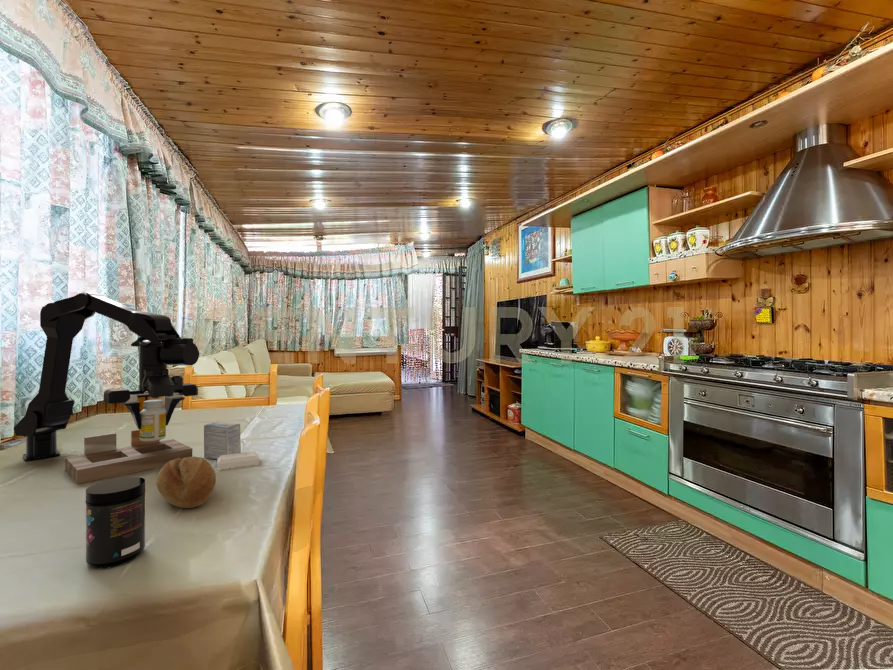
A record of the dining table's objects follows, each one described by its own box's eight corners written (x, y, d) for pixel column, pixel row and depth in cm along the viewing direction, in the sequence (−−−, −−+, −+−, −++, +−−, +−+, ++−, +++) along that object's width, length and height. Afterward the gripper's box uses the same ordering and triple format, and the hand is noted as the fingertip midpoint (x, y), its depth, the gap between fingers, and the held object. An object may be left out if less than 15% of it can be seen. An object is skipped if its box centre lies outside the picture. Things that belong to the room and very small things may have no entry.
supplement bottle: (143, 443, 101) (143, 403, 101) (136, 439, 105) (137, 400, 105) (168, 438, 105) (169, 400, 105) (161, 435, 109) (162, 398, 109)
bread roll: (161, 520, 72) (161, 474, 72) (151, 494, 84) (151, 454, 83) (223, 505, 78) (223, 463, 78) (206, 483, 90) (206, 446, 90)
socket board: (65, 470, 98) (65, 440, 98) (173, 450, 114) (173, 424, 114) (77, 484, 89) (77, 451, 89) (192, 460, 105) (192, 432, 105)
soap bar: (259, 466, 102) (259, 455, 102) (217, 471, 98) (217, 460, 98) (257, 460, 107) (257, 450, 107) (217, 466, 102) (217, 455, 102)
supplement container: (121, 542, 64) (121, 475, 64) (156, 548, 63) (156, 479, 62) (72, 566, 58) (72, 491, 58) (110, 574, 56) (110, 496, 56)
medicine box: (241, 456, 109) (241, 423, 109) (227, 461, 105) (227, 426, 105) (218, 453, 112) (218, 421, 111) (203, 458, 107) (203, 424, 107)
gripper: (115, 369, 93) (114, 439, 93) (206, 364, 107) (206, 425, 107) (103, 366, 100) (102, 431, 100) (190, 362, 114) (189, 419, 114)
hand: (153, 427), depth 105 cm, fingers closed on supplement bottle, 5 cm apart
